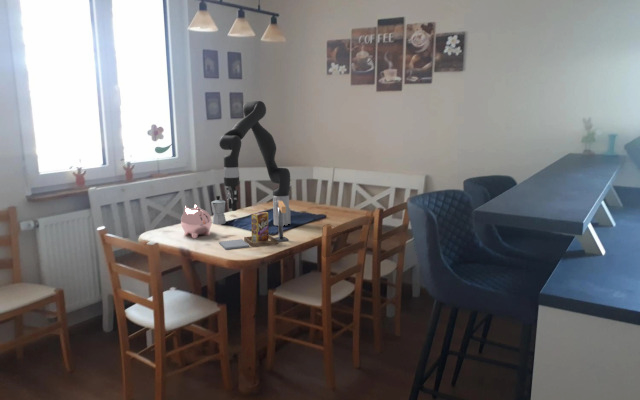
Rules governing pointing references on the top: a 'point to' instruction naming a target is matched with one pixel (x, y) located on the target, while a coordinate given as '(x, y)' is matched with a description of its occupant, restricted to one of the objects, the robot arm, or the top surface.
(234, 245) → the mat
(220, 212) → the coffee maker
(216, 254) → the top surface
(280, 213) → the post
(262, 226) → the candy box
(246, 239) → the wooden tray
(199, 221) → the piggy bank
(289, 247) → the top surface
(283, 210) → the arm
